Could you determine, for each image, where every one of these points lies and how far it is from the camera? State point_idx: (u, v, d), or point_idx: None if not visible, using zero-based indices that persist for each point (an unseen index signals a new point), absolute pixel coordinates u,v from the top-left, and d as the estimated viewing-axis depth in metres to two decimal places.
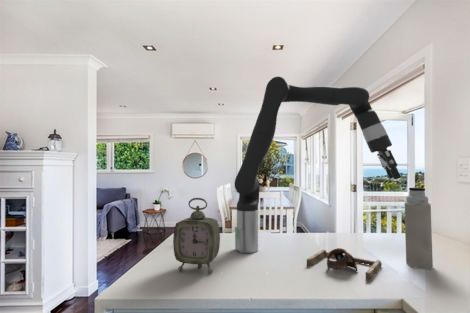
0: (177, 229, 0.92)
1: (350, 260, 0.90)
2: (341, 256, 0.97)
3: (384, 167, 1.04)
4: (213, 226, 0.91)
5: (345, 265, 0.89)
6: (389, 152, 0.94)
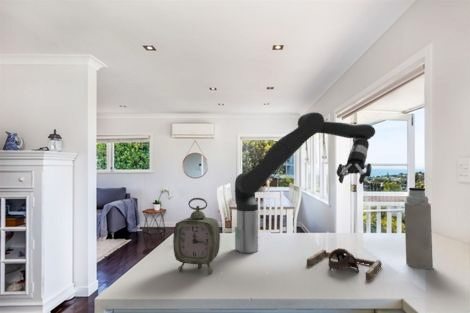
0: (177, 229, 0.92)
1: (352, 260, 0.90)
2: (342, 256, 0.97)
3: (343, 172, 1.23)
4: (213, 226, 0.91)
5: (347, 265, 0.89)
6: None
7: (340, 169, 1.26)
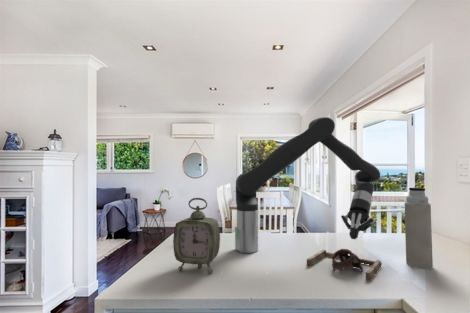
0: (177, 229, 0.92)
1: (356, 261, 0.90)
2: (346, 257, 0.97)
3: (354, 225, 1.09)
4: (213, 226, 0.91)
5: (351, 266, 0.89)
6: (372, 223, 1.08)
7: (347, 221, 1.12)
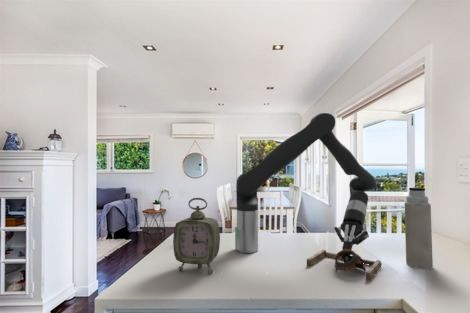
0: (177, 229, 0.92)
1: (359, 261, 0.89)
2: (349, 257, 0.96)
3: (347, 238, 1.02)
4: (213, 226, 0.91)
5: (354, 266, 0.88)
6: (367, 236, 1.01)
7: (340, 233, 1.06)
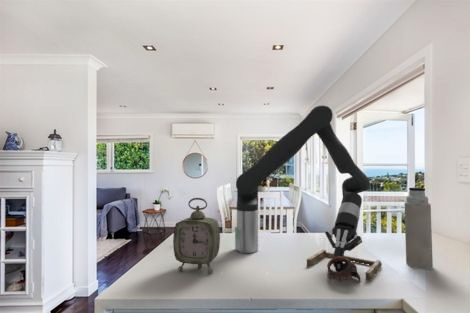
0: (177, 229, 0.92)
1: (354, 270, 0.82)
2: (341, 265, 0.89)
3: (339, 243, 0.95)
4: (213, 226, 0.91)
5: (350, 276, 0.80)
6: (360, 242, 0.94)
7: (331, 238, 0.98)
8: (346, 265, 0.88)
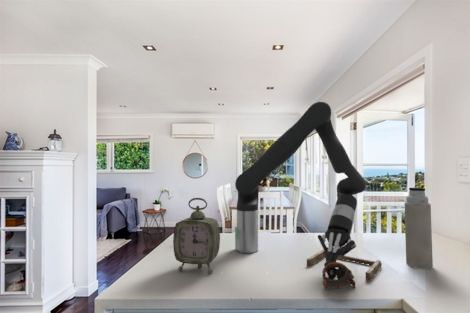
0: (177, 229, 0.92)
1: (352, 276, 0.77)
2: (334, 270, 0.84)
3: (331, 248, 0.90)
4: (213, 226, 0.91)
5: (349, 283, 0.75)
6: (354, 246, 0.88)
7: None
8: (339, 271, 0.83)
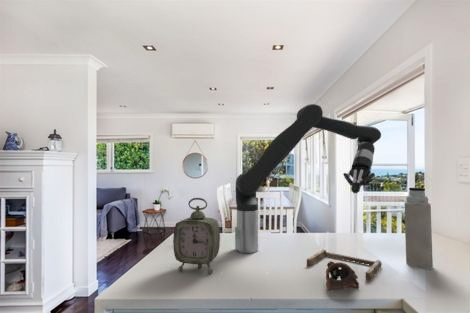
0: (177, 229, 0.92)
1: (355, 276, 0.77)
2: (337, 271, 0.84)
3: (355, 180, 1.12)
4: (213, 226, 0.91)
5: (353, 283, 0.75)
6: (374, 178, 1.11)
7: None
8: (342, 271, 0.83)
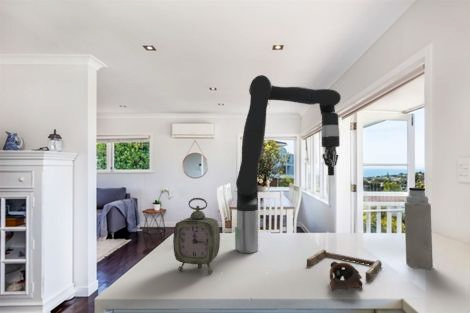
0: (177, 229, 0.92)
1: (359, 276, 0.77)
2: (340, 271, 0.83)
3: None
4: (213, 226, 0.91)
5: (357, 283, 0.75)
6: (327, 156, 1.15)
7: (332, 159, 1.23)
8: (346, 271, 0.83)
